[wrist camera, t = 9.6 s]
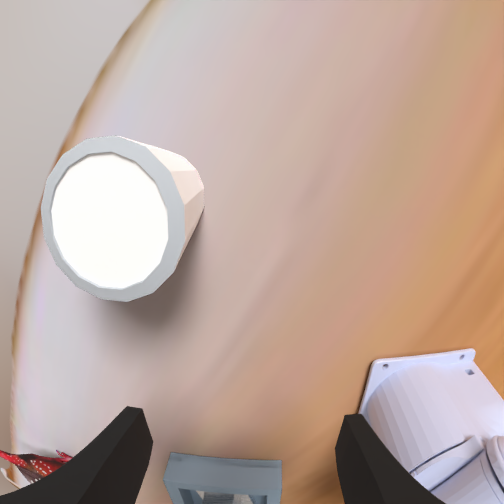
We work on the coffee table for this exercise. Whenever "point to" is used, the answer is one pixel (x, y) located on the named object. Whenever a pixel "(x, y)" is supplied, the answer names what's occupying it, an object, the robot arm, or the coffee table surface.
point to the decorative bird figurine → (35, 464)
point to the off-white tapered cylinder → (120, 215)
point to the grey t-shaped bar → (225, 498)
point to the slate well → (222, 478)
